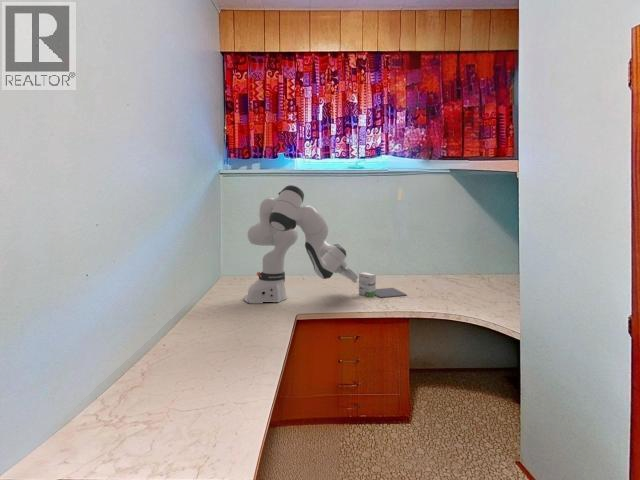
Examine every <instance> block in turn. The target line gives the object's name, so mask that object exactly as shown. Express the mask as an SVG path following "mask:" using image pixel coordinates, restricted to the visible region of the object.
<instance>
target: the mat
mask: <svg viewBox="0 0 640 480" xmlns="http://www.w3.org/2000/svg"><path fill="white" fill-rule="evenodd" d="M375 296H376V297H378V298H379V299H383V298H395V297H406V296H408V294H407V293H405V292H403V291H400V289H399V290H398V289H397V288H395V287H386V288H385V287H384V288H383V287H382V288H375Z"/></svg>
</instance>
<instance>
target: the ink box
mask: <svg viewBox="0 0 640 480" xmlns="http://www.w3.org/2000/svg"><path fill="white" fill-rule="evenodd" d="M376 275H377V274H374V273H370V272H359V273H358V295H362V296H365V297H368V298H369V297H370V298H371V297H375V296H376V295H375V289H376V285H377V284H376V282H377V281H376V279H377V278H376V277H377V276H376Z"/></svg>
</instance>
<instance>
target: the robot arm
mask: <svg viewBox="0 0 640 480" xmlns="http://www.w3.org/2000/svg"><path fill="white" fill-rule="evenodd" d="M277 194H278V196H277V197H276V198H273V197H267V198H265V199H263V200H262V201H261V203H260V205H259V211H258V212H259V213H258V214H259V215H258V216H259V222H258V223H256V224H254V225H251V226H250V227H249V229H248V230H247V238H248V239H247V240H248V241H249V243H250V244H251V245H255V246H260V247H261V246H265V247H267V246H273V247H274V248H273V249H272V250H271V251H268V252H266V253H265V254H264V255H263V257H262V271H261V272H260V271H257V272H256V275H257V277H258V279H257V280H256V281H254V283H253V284H251V285H250V286H249V287H248V291H247V294H245V295H244V296H243V300H245V301H246V302H245V301H244V302H245V303H247V302H249V303H248V304H264V303H263V302H278V303H281V302H282V301H285V300H287V299H288V296H287V292H286V286H285V280H286V272H285V258H286V254H287V252H288V251H289V249H290V248H291V247H292V246H293V245H294V244H296V242H297V241H298V238H299V231H298V230H297V228H296V227H297V226H298V227H300V229H301V230H302V232H303V234H304V237H305V244H304V247H305V250H306V252H307V255H308V257H309V259H310V261H311V264H312V265H313V266H312V267H313V270H314V273H316V275H317V277H319V278H321V279H323V280H327V279H330V278H331V277H332V276H333V275H334V273H335V274H337V273H338V274H340V275H341V276H342V277H345V278H346V279H349V280H350V281H351V282H353V283H354V284H356V283H357V282H358V279H359V275H358V274H356V273H355V272H354V271H353V270H352V269H351V268H350V267H348V265H347V263H348V261H347V260H346V258H347V250H346V249H345V248H343V247H342V246H341V245H340V244H339V243H336V244H331V243H329V242H327V241H326V239H327V237H328V235H329V227H328V224H327V222H326V221H325V219H324V217H323V216H322V215H321V214H320V212H318V210H317V209H316V208H314V207H313V206H312V205H304V206H302V204H303V202H304V199H305V193H304V191H303V189H301V188H300V187H298V186H297V185H294V184H293V185H292V184H291V185H289V184H288V185H286V186H285V187H284V188H283V189H281V191H279V192H278V193H277Z"/></svg>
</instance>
